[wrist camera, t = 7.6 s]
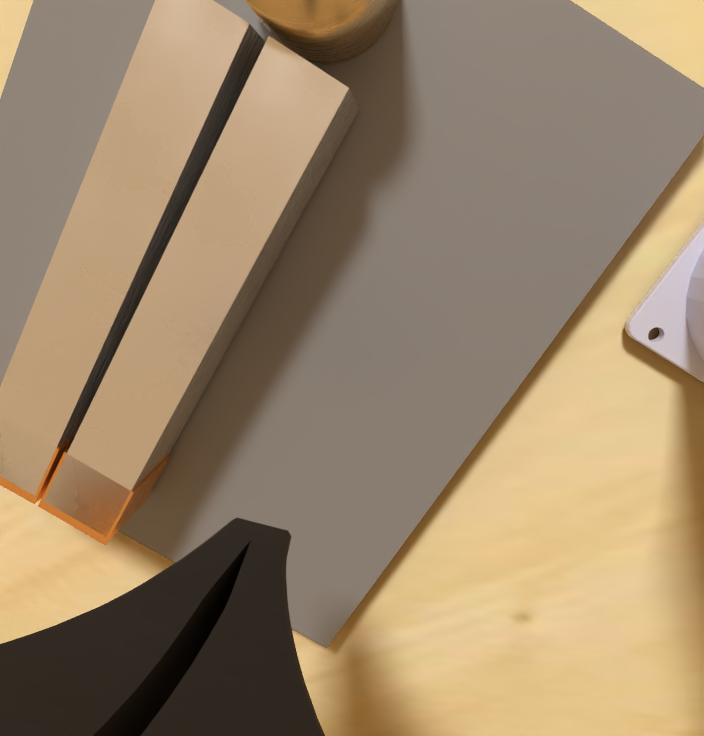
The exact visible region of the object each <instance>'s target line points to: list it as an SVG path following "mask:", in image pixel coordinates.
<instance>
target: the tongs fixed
mask: <svg viewBox="0 0 704 736" xmlns="http://www.w3.org/2000/svg"><path fill="white" fill-rule="evenodd" d="M245 1H246V2H247V4H248V5H249V6H250V8H251V9H252V10H253V11H254V13H255V14H256V15H257V17H258V18H259V19H260V21H261V22H262V23H263V24H264V26H265V27H266V28H267V30H268V31H269V32H270V33H271V35H272V36H273V37H274V38H275V40H276V41H278V42H279V43H281V44H282V45H284V46H285V47H287V48H288V49H290V50H292V51H293V52H295V53H296V54H298V55H299V56H301V57H302V58H304V59H305V60H307V61H308V62H311V63H315V64H325V65H329V64H338V63H342V62H346V61H349V60H351V59H354V58H356V57H357V56H359V55H361V54H363V53H364V52H365V51H367V50H368V49H369V48H371V47H372V46H373V45H374V44H375V43H376V42H377V41H378V40H379V38H380V37H381V36H382V35H383V33H384V32H385V30H386V29H387V27H388V25H389V24H390V22H391V20H392V17H393V15H394V13H395V10H396V7H397V4H398V0H245ZM265 43H266V42H265V41H264V40H263V39H262V38H261V36H260V35H259V34H258V33H257V32H256V30H255V29H254V28H253V27H252V26H251V25H250V23H248V22H247V21H245V20H243V19H242V18H240V17H239V16H237V15H235V14H234V13H232V12H231V11H229V10H227V9H226V8H224V7H223V6H221V5H220V4H218V3H216V2H215V1H213V0H155V2H154V4H153V7H152V9H151V12H150V14H149V17H148V19H147V22H146V24H145V27H144V29H143V32H142V34H141V37H140V39H139V42H138V44H137V47H136V49H135V52H134V54H133V57H132V59H131V62H130V64H129V67H128V69H127V72H126V74H125V77H124V79H123V82H122V84H121V87H120V89H119V92H118V94H117V97H116V99H115V101H114V104H113V106H112V109H111V111H110V114H109V116H108V119H107V121H106V124H105V126H104V129H103V131H102V134H101V136H100V139H99V141H98V144H97V146H96V149H95V151H94V154H93V156H92V159H91V161H90V164H89V166H88V169H87V171H86V174H85V176H84V179H83V181H82V184H81V186H80V189H79V191H78V194H77V196H76V199H75V201H74V204H73V206H72V209H71V211H70V214H69V216H68V219H67V221H66V224H65V226H64V229H63V231H62V234H61V236H60V239H59V241H58V244H57V246H56V249H55V251H54V254H53V256H52V259H51V261H50V264H49V266H48V269H47V271H46V274H45V276H44V279H43V281H42V284H41V286H40V289H39V291H38V294H37V296H36V299H35V301H34V304H33V306H32V309H31V311H30V314H29V316H28V319H27V321H26V324H25V326H24V329H23V331H22V334H21V336H20V339H19V341H18V344H17V346H16V349H15V351H14V354H13V356H12V359H11V361H10V364H9V366H8V369H7V371H6V373H5V376H4V378H3V381H2V383H1V386H0V485H1V486H3V487H5V488H7V489H9V490H10V491H12V492H14V493H16V494H17V495H19V496H21V497H23V498H25V499H26V500H28V501H30V502H32V503H33V504H35V503H36V502H37V501H39V500H40V499H41V498H42V497H43V495H44V493H45V491H46V489H47V487H48V484H49V482H50V480H51V478H52V476H53V474H54V472H55V470H56V468H57V466H58V464H59V462H60V460H61V457H62V455H63V453H64V452H65V451H66V450H68V449H69V448H70V446H71V444H72V442H73V440H74V438H75V436H76V434H77V431H78V429H79V427H80V425H81V423H82V421H83V419H84V417H85V415H86V413H87V411H88V409H89V407H90V405H91V403H92V400H93V398H94V396H95V394H96V392H97V390H98V388H99V386H100V384H101V382H102V380H103V378H104V376H105V374H106V371H107V369H108V367H109V365H110V363H111V361H112V359H113V357H114V355H115V353H116V351H117V349H118V347H119V345H120V343H121V340H122V338H123V336H124V334H125V332H126V330H127V328H128V326H129V324H130V322H131V320H132V318H133V316H134V314H135V311H136V309H137V307H138V305H139V303H140V301H141V299H142V297H143V295H144V293H145V291H146V289H147V287H148V285H149V283H150V280H151V278H152V276H153V274H154V272H155V270H156V268H157V266H158V264H159V262H160V260H161V258H162V256H163V254H164V251H165V249H166V247H167V245H168V243H169V241H170V239H171V237H172V235H173V233H174V231H175V229H176V227H177V225H178V223H179V220H180V218H181V216H182V214H183V212H184V210H185V208H186V206H187V204H188V202H189V200H190V198H191V196H192V194H193V191H194V189H195V187H196V185H197V183H198V181H199V179H200V177H201V175H202V173H203V171H204V169H205V167H206V165H207V163H208V160H209V158H210V156H211V154H212V152H213V150H214V148H215V146H216V144H217V142H218V140H219V138H220V136H221V134H222V131H223V129H224V127H225V125H226V123H227V121H228V119H229V117H230V115H231V113H232V111H233V109H234V107H235V105H236V103H237V100H238V98H239V96H240V94H241V92H242V90H243V88H244V86H245V84H246V82H247V80H248V78H249V76H250V74H251V71H252V69H253V67H254V65H255V63H256V61H257V59H258V57H259V55H260V53H261V51H262V49H263V47H264V45H265Z"/></svg>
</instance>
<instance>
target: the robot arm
mask: <svg viewBox="0 0 704 736" xmlns="http://www.w3.org/2000/svg"><path fill="white" fill-rule="evenodd" d="M656 327H658V328H659V335H658V337H656V338H655V339H653V340H649V339H648V334H649V331H650V330H651V329H653V328H656ZM625 330H626V333H627V334H628V335H629V336H630V337H631V338H632V339H634V340H636V341H637V342H639V343H640V344H642V345H644V346H645V347H647V348H648V349H650V350H652V351H653V352H655V353H657V354H658V355H660V356H661V357H663V358H665V359H666V360H668V361H669V362H671V363H673V364H674V365H676V366H677V367H679V368H681V369H682V370H684V371H685V372H687V373H689V374H690V375H692V376H694V377H695V378H697V379H698V380H700V381H702V382H703V383H704V220H703V221H702V223H701V224H700V225H699V227H698V228H697V229H696V231H695V232H694V233H693V234H692V236H691V237H690V238H689V240H688V241H687V242H686V244H685V245H684V246H683V247H682V249H681V250H680V251H679V253H678V254H677V255H676V256H675V258H674V259H673V260H672V262H671V263H670V264H669V266H668V267H667V268H666V269H665V271H664V272H663V273H662V275H661V276H660V277H659V279H658V280H657V281H656V282H655V284H654V285H653V286H652V288H651V289H650V290H649V291H648V293H647V294H646V295H645V297H644V298H643V299H642V301H641V302H640V303H639V304H638V306H637V307H636V308H635V310H634V311H633V312H632V314H631V315H630V316H629V317H628V319H627V321H626V323H625ZM291 537H292V536H291V535H290V533H289V531H288V530H284V529H280V528H276V527H272V526H268V525H264V524H260V523H256V522H252V521H249V520H245V519H241V518H235V519H233V520H231V521H230V522H229V523H228V524H226V525H225V526H224V527H223V528H221V529H220V530H219V531H218V532H217V533H215V534H214V535H213V536H211V537H210V538H209V539H208V540H206V541H205V542H204V543H202V544H201V545H200V546H198V547H197V548H196V549H194V550H193V551H191V552H190V553H189V554H187V555H186V556H184V557H183V558H182V559H180V560H179V561H177V562H176V563H174V564H173V565H172V566H170V567H168V568H167V569H165V570H164V571H162V572H160V573H159V574H157V575H156V576H154V577H153V578H151V579H149V580H148V581H146V582H145V583H143V584H141V585H140V586H138V587H136V588H134V589H133V590H131V591H129V592H127V593H125V594H123V595H122V596H120V597H118V598H116V599H114V600H112V601H110V602H108V603H106V604H104V605H102V606H100V607H98V608H96V609H93V610H91V611H88V612H86V613H84V614H81V615H79V616H77V617H74V618H72V619H70V620H67V621H65V622H62V623H60V624H58V625H55V626H53V627H50V628H47V629H44V630H41V631H39V632H36V633H33V634H30V635H27V636H24V637H21V638H18V639H15V640H12V641H9V642H6V643H2V644H0V736H325V735H324V732H323V730H322V728H321V725H320V723H319V721H318V718H317V716H316V713H315V710H314V707H313V704H312V702H311V699H310V696H309V693H308V690H307V687H306V685H305V682H304V678H303V675H302V671H301V668H300V664H299V661H298V657H297V652H296V648H295V644H294V639H293V634H292V628H291V622H290V615H289V608H288V598H287V582H286V561H287V555H288V551H289V546H290V541H291Z"/></svg>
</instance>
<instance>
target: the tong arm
mask: <svg viewBox="0 0 704 736" xmlns="http://www.w3.org/2000/svg"><path fill="white" fill-rule="evenodd" d="M358 111H359V107H358V105H357V103H356V101H355V99H354V97H353V95H352V93H351V91H350V89H349V88H348V87H347V86H345V85H344V84H342V83H341V82H339V81H338V80H336V79H335V78H333V77H331V76H330V75H328V74H327V73H325V72H324V71H322V70H321V69H319V68H318V67H316V66H315V65H313V64H311V63H310V62H308V61H307V60H305V59H304V58H302V57H301V56H299V55H298V54H296V53H295V52H293V51H292V50H290V49H288V48H287V47H285V46H284V45H282V44H281V43H279V42H278V41H276V40H275V39H273V38H272V37H270V36H268V38H267V40H266V43H265V45H264V47H263V49H262V51H261V53H260V55H259V57H258V59H257V61H256V63H255V65H254V67H253V69H252V71H251V74H250V76H249V78H248V80H247V82H246V84H245V86H244V88H243V90H242V92H241V94H240V96H239V98H238V100H237V103H236V105H235V107H234V109H233V111H232V113H231V115H230V117H229V119H228V121H227V123H226V125H225V127H224V129H223V131H222V134H221V136H220V138H219V140H218V142H217V144H216V146H215V148H214V150H213V152H212V154H211V156H210V158H209V160H208V163H207V165H206V167H205V169H204V171H203V173H202V175H201V177H200V179H199V181H198V183H197V185H196V187H195V189H194V191H193V194H192V196H191V198H190V200H189V202H188V204H187V206H186V208H185V210H184V212H183V214H182V216H181V218H180V220H179V223H178V225H177V227H176V229H175V231H174V233H173V235H172V237H171V239H170V241H169V243H168V245H167V247H166V249H165V251H164V254H163V256H162V258H161V260H160V262H159V264H158V266H157V268H156V270H155V272H154V274H153V276H152V278H151V280H150V283H149V285H148V287H147V289H146V291H145V293H144V295H143V297H142V299H141V301H140V303H139V305H138V307H137V309H136V311H135V314H134V316H133V318H132V320H131V322H130V324H129V326H128V328H127V330H126V332H125V334H124V336H123V338H122V340H121V343H120V345H119V347H118V349H117V351H116V353H115V355H114V357H113V359H112V361H111V363H110V365H109V367H108V369H107V371H106V374H105V376H104V378H103V380H102V382H101V384H100V386H99V388H98V390H97V392H96V394H95V396H94V398H93V400H92V403H91V405H90V407H89V409H88V411H87V413H86V415H85V417H84V419H83V421H82V423H81V425H80V427H79V429H78V431H77V434H76V436H75V438H74V440H73V442H72V444H71V446H70V448H69V449H68V450H66V451H65V452H64V453H63V455H62V457H61V460H60V462H59V464H58V466H57V468H56V470H55V472H54V474H53V476H52V478H51V480H50V482H49V484H48V487H47V489H46V491H45V493H44V495H43V497H42V499H41V501H40V503H39V505H38V506H39V507H40V508H42V509H44V510H46V511H47V512H49V513H51V514H53V515H54V516H56V517H58V518H60V519H61V520H63V521H65V522H66V523H68V524H70V525H72V526H73V527H75V528H77V529H79V530H80V531H82V532H84V533H86V534H87V535H89V536H91V537H92V538H94V539H96V540H98V541H99V542H101V543H103V544H105V545H106V544H107V543H108V542H109V540H110V539H111V538H112V537H113V536H114V535H115V534H116V533H117V532H118V531H119V530H120V529H121V527H122V526H123V525H124V524H125V523H126V522H127V521H128V520H129V519H130V518H131V517H132V515H133V514H134V513H135V512H136V511H137V510H138V509H139V508H140V507H141V506H142V505H143V504H144V502H145V501H146V500H147V498H148V496H149V495H150V493H151V491H152V489H153V487H154V486H155V484H156V482H157V480H158V478H159V477H160V475H161V473H162V471H163V469H164V468H165V466H166V464H167V462H168V460H169V459H170V457H171V455H172V454H171V453H170V451H171V449H172V448H173V446H174V444H175V442H176V440H177V439H178V437H179V435H180V433H181V431H182V430H183V428H184V426H185V424H186V422H187V421H188V419H189V417H190V415H191V413H192V411H193V410H194V408H195V406H196V404H197V402H198V401H199V399H200V397H201V395H202V393H203V392H204V390H205V388H206V386H207V384H208V383H209V381H210V379H211V377H212V375H213V373H214V372H215V370H216V368H217V366H218V364H219V363H220V361H221V359H222V357H223V355H224V354H225V352H226V350H227V348H228V346H229V345H230V343H231V341H232V339H233V337H234V335H235V334H236V332H237V330H238V328H239V326H240V325H241V323H242V321H243V319H244V317H245V316H246V314H247V312H248V310H249V308H250V307H251V305H252V303H253V301H254V299H255V298H256V296H257V294H258V292H259V290H260V288H261V287H262V285H263V283H264V281H265V279H266V278H267V276H268V274H269V272H270V270H271V269H272V267H273V265H274V263H275V261H276V260H277V258H278V256H279V254H280V252H281V250H282V249H283V247H284V245H285V243H286V241H287V240H288V238H289V236H290V234H291V232H292V231H293V229H294V227H295V225H296V223H297V222H298V220H299V218H300V216H301V214H302V212H303V211H304V209H305V207H306V205H307V203H308V202H309V200H310V198H311V196H312V194H313V193H314V191H315V189H316V187H317V185H318V184H319V182H320V180H321V178H322V176H323V175H324V173H325V171H326V169H327V167H328V165H329V164H330V162H331V160H332V158H333V156H334V155H335V153H336V151H337V149H338V147H339V146H340V144H341V142H342V140H343V138H344V137H345V135H346V133H347V131H348V129H349V127H350V126H351V124H352V122H353V120H354V118H355V117H356V115H357V113H358Z"/></svg>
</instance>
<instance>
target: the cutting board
mask: <svg viewBox="0 0 704 736" xmlns="http://www.w3.org/2000/svg"><path fill="white" fill-rule="evenodd" d="M213 1H215V2H216V3H218V4H220V5H221V6H223V7H224V8H226V9H227V10H229V11H231V12H232V13H234V14H235V15H237V16H239V17H240V18H242V19H243V20H245V21H247V22H248V23H250V25H251V26H252V27H253V28H254V29H255V30H256V32H257V33H258V34H259V35H260V36H261V38H262V39H263V40H264V41H265V42H266V40H267V38H268V36H270V37H272V38H273V39H275V38H274V37H273V36H272V35H271V33H270V32H269V31H268V30H267V28H266V27H265V26H264V24H263V23H262V22H261V21H260V19H259V18H258V17H257V15H256V14H255V13H254V11H253V10H252V9H251V8H250V6H249V5H248V4H247V2H246V1H245V0H213ZM154 2H155V0H34V1H33V4H32V7H31V10H30V13H29V16H28V19H27V22H26V25H25V28H24V31H23V34H22V37H21V39H20V42H19V45H18V48H17V51H16V54H15V57H14V60H13V63H12V66H11V69H10V72H9V75H8V78H7V81H6V84H5V87H4V90H3V93H2V96H1V99H0V386H1V383H2V381H3V378H4V376H5V373H6V371H7V369H8V366H9V364H10V361H11V359H12V356H13V354H14V351H15V349H16V346H17V344H18V341H19V339H20V336H21V334H22V331H23V329H24V326H25V324H26V321H27V319H28V316H29V314H30V311H31V309H32V306H33V304H34V301H35V299H36V296H37V294H38V291H39V289H40V286H41V284H42V281H43V279H44V276H45V274H46V271H47V269H48V266H49V264H50V261H51V259H52V256H53V254H54V251H55V249H56V246H57V244H58V241H59V239H60V236H61V234H62V231H63V229H64V226H65V224H66V221H67V219H68V216H69V214H70V211H71V209H72V206H73V204H74V201H75V199H76V196H77V194H78V191H79V189H80V186H81V184H82V181H83V179H84V176H85V174H86V171H87V169H88V166H89V164H90V161H91V159H92V156H93V154H94V151H95V149H96V146H97V144H98V141H99V139H100V136H101V134H102V131H103V129H104V126H105V124H106V121H107V119H108V116H109V114H110V111H111V109H112V106H113V104H114V101H115V99H116V97H117V94H118V92H119V89H120V87H121V84H122V82H123V79H124V77H125V74H126V72H127V69H128V67H129V64H130V62H131V59H132V57H133V54H134V52H135V49H136V47H137V44H138V42H139V39H140V37H141V34H142V32H143V29H144V27H145V24H146V22H147V19H148V17H149V14H150V12H151V9H152V7H153V4H154ZM310 63H311V62H310ZM311 64H313V65H315V66H316V67H318V68H319V69H321V70H322V71H324V72H325V73H327V74H328V75H330V76H331V77H333V78H335V79H336V80H338V81H339V82H341V83H342V84H344V85H345V86H347V87H348V88H349V89H350V91H351V93H352V95H353V97H354V99H355V101H356V103H357V105H358V107H359V111H358V113H357V115H356V117H355V118H354V120H353V122H352V124H351V126H350V127H349V129H348V131H347V133H346V135H345V137H344V138H343V140H342V142H341V144H340V146H339V147H338V149H337V151H336V153H335V155H334V156H333V158H332V160H331V162H330V164H329V165H328V167H327V169H326V171H325V173H324V175H323V176H322V178H321V180H320V182H319V184H318V185H317V187H316V189H315V191H314V193H313V194H312V196H311V198H310V200H309V202H308V203H307V205H306V207H305V209H304V211H303V212H302V214H301V216H300V218H299V220H298V222H297V223H296V225H295V227H294V229H293V231H292V232H291V234H290V236H289V238H288V240H287V241H286V243H285V245H284V247H283V249H282V250H281V252H280V254H279V256H278V258H277V260H276V261H275V263H274V265H273V267H272V269H271V270H270V272H269V274H268V276H267V278H266V279H265V281H264V283H263V285H262V287H261V288H260V290H259V292H258V294H257V296H256V298H255V299H254V301H253V303H252V305H251V307H250V308H249V310H248V312H247V314H246V316H245V317H244V319H243V321H242V323H241V325H240V326H239V328H238V330H237V332H236V334H235V335H234V337H233V339H232V341H231V343H230V345H229V346H228V348H227V350H226V352H225V354H224V355H223V357H222V359H221V361H220V363H219V364H218V366H217V368H216V370H215V372H214V373H213V375H212V377H211V379H210V381H209V383H208V384H207V386H206V388H205V390H204V392H203V393H202V395H201V397H200V399H199V401H198V402H197V404H196V406H195V408H194V410H193V411H192V413H191V415H190V417H189V419H188V421H187V422H186V424H185V426H184V428H183V430H182V431H181V433H180V435H179V437H178V439H177V440H176V442H175V444H174V446H173V448H172V449H171V451H170V453H171V454H172V455H171V457H170V459H169V460H168V462H167V464H166V466H165V468H164V469H163V471H162V473H161V475H160V477H159V478H158V480H157V482H156V484H155V486H154V487H153V489H152V491H151V493H150V495H149V496H148V498H147V500H146V501H145V502H144V504H143V505H142V506H141V507H140V508H139V509H138V510H137V511H136V512H135V513H134V514H133V515H132V517H131V518H130V519H129V520H128V521H127V522H126V523H125V524H124V525H123V526H122V527H121V529H120V530H119V531H120V532H122V533H123V534H125V535H127V536H129V537H130V538H132V539H134V540H136V541H137V542H139V543H141V544H143V545H145V546H146V547H148V548H150V549H152V550H153V551H155V552H157V553H159V554H160V555H162V556H164V557H166V558H168V559H169V560H171V561H173V562H175V563H176V562H177V561H179V560H180V559H182V558H183V557H184V556H186V555H187V554H189V553H190V552H191V551H193V550H194V549H196V548H197V547H198V546H200V545H201V544H202V543H204V542H205V541H206V540H208V539H209V538H210V537H211V536H213V535H214V534H215V533H217V532H218V531H219V530H220V529H221V528H223V527H224V526H225V525H226V524H228V523H229V522H230V521H231V520H233V519H235V518H241V519H245V520H249V521H252V522H256V523H260V524H264V525H268V526H272V527H276V528H280V529H284V530H288V531H289V533H290V535H291V536H292V537H291V541H290V546H289V551H288V555H287V561H286V582H287V598H288V608H289V615H290V622H291V628H292V629H293V630H295V631H297V632H299V633H300V634H302V635H304V636H306V637H307V638H309V639H311V640H313V641H314V642H316V643H318V644H320V645H322V646H323V647H325V648H327V647H328V646H329V644H330V643H331V641H332V640H333V639H334V637H335V636H336V635H337V633H338V632H339V631H340V629H341V628H342V626H343V625H344V624H345V622H346V621H347V620H348V618H349V617H350V616H351V614H352V613H353V611H354V610H355V609H356V607H357V606H358V605H359V603H360V602H361V601H362V599H363V598H364V597H365V595H366V594H367V592H368V591H369V590H370V588H371V587H372V586H373V584H374V583H375V582H376V580H377V579H378V577H379V576H380V575H381V573H382V572H383V571H384V569H385V568H386V567H387V565H388V564H389V563H390V561H391V560H392V558H393V557H394V556H395V554H396V553H397V552H398V550H399V549H400V548H401V546H402V545H403V543H404V542H405V541H406V539H407V538H408V537H409V535H410V534H411V533H412V531H413V530H414V529H415V527H416V526H417V524H418V523H419V522H420V520H421V519H422V518H423V516H424V515H425V514H426V512H427V511H428V509H429V508H430V507H431V505H432V504H433V503H434V501H435V500H436V499H437V497H438V496H439V495H440V493H441V492H442V490H443V489H444V488H445V486H446V485H447V484H448V482H449V481H450V480H451V478H452V477H453V475H454V474H455V473H456V471H457V470H458V469H459V467H460V466H461V465H462V463H463V462H464V461H465V459H466V458H467V456H468V455H469V454H470V452H471V451H472V450H473V448H474V447H475V446H476V444H477V443H478V441H479V440H480V439H481V437H482V436H483V435H484V433H485V432H486V431H487V429H488V428H489V427H490V425H491V424H492V422H493V421H494V420H495V418H496V417H497V416H498V414H499V413H500V412H501V410H502V409H503V407H504V406H505V405H506V403H507V402H508V401H509V399H510V398H511V397H512V395H513V394H514V393H515V391H516V390H517V388H518V387H519V386H520V384H521V383H522V382H523V380H524V379H525V378H526V376H527V375H528V373H529V372H530V371H531V369H532V368H533V367H534V365H535V364H536V363H537V361H538V360H539V359H540V357H541V356H542V354H543V353H544V352H545V350H546V349H547V348H548V346H549V345H550V344H551V342H552V341H553V339H554V338H555V337H556V335H557V334H558V333H559V331H560V330H561V329H562V327H563V326H564V324H565V323H566V322H567V320H568V319H569V318H570V316H571V315H572V314H573V312H574V311H575V310H576V308H577V307H578V305H579V304H580V303H581V301H582V300H583V299H584V297H585V296H586V295H587V293H588V292H589V290H590V289H591V288H592V286H593V285H594V284H595V282H596V281H597V280H598V278H599V277H600V276H601V274H602V273H603V271H604V270H605V269H606V267H607V266H608V265H609V263H610V262H611V261H612V259H613V258H614V256H615V255H616V254H617V252H618V251H619V250H620V248H621V247H622V246H623V244H624V243H625V242H626V240H627V239H628V237H629V236H630V235H631V233H632V232H633V231H634V229H635V228H636V227H637V225H638V224H639V222H640V221H641V220H642V218H643V217H644V216H645V214H646V213H647V212H648V210H649V209H650V208H651V206H652V205H653V203H654V202H655V201H656V199H657V198H658V197H659V195H660V194H661V193H662V191H663V190H664V188H665V187H666V186H667V184H668V183H669V182H670V180H671V179H672V178H673V176H674V175H675V174H676V172H677V171H678V169H679V168H680V167H681V165H682V164H683V163H684V161H685V160H686V159H687V157H688V156H689V154H690V153H691V152H692V150H693V149H694V148H695V146H696V145H697V144H698V142H699V141H700V140H701V138H702V137H703V135H704V88H703V87H701V86H700V85H698V84H697V83H695V82H694V81H692V80H691V79H689V78H688V77H686V76H685V75H683V74H682V73H680V72H679V71H677V70H676V69H674V68H672V67H671V66H669V65H668V64H666V63H665V62H663V61H662V60H660V59H659V58H657V57H656V56H654V55H653V54H651V53H650V52H648V51H647V50H645V49H644V48H642V47H641V46H639V45H637V44H636V43H634V42H633V41H631V40H630V39H628V38H627V37H625V36H624V35H622V34H621V33H619V32H618V31H616V30H615V29H613V28H612V27H610V26H609V25H607V24H605V23H604V22H602V21H601V20H599V19H598V18H596V17H595V16H593V15H592V14H590V13H589V12H587V11H586V10H584V9H583V8H581V7H580V6H578V5H577V4H575V3H574V2H572V1H570V0H398V4H397V7H396V10H395V13H394V15H393V17H392V20H391V22H390V24H389V25H388V27H387V29H386V30H385V32H384V33H383V35H382V36H381V37H380V38H379V40H378V41H377V42H376V43H375V44H374V45H373V46H372V47H371V48H369V49H368V50H367V51H365V52H364V53H363V54H361V55H359V56H357V57H356V58H354V59H351V60H349V61H346V62H342V63H338V64H329V65H325V64H315V63H311Z"/></svg>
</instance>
